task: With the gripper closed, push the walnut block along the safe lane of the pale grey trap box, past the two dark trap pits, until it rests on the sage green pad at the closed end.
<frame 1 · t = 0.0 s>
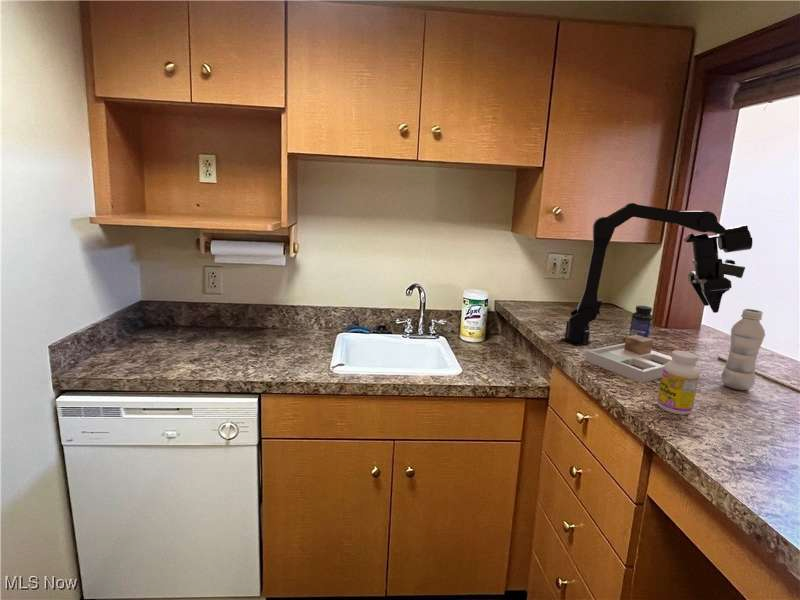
hand: (710, 308, 128), 15 cm above the worktop, tool pointing down, fingers open, 9 cm apart
trap box: (636, 365, 124), on the worktop
plastic bottle: (735, 388, 111), on the worktop
supplement bottle: (673, 409, 98), on the worktop
walnut block: (637, 351, 130), point 2 cm above the worktop, touching trap box
pill bottle: (638, 339, 149), on the worktop
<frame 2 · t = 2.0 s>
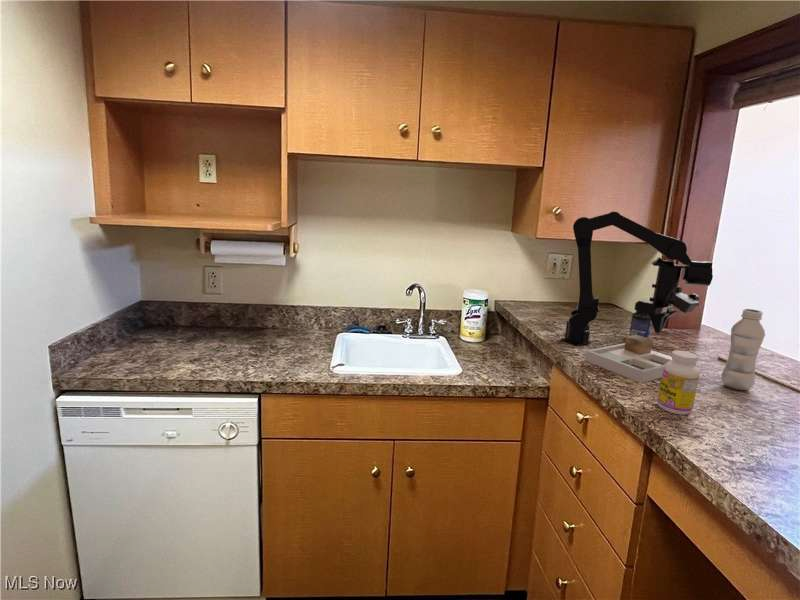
hand: (657, 332, 133), 7 cm above the worktop, tool pointing down, fingers closed
nothing on the worktop moved.
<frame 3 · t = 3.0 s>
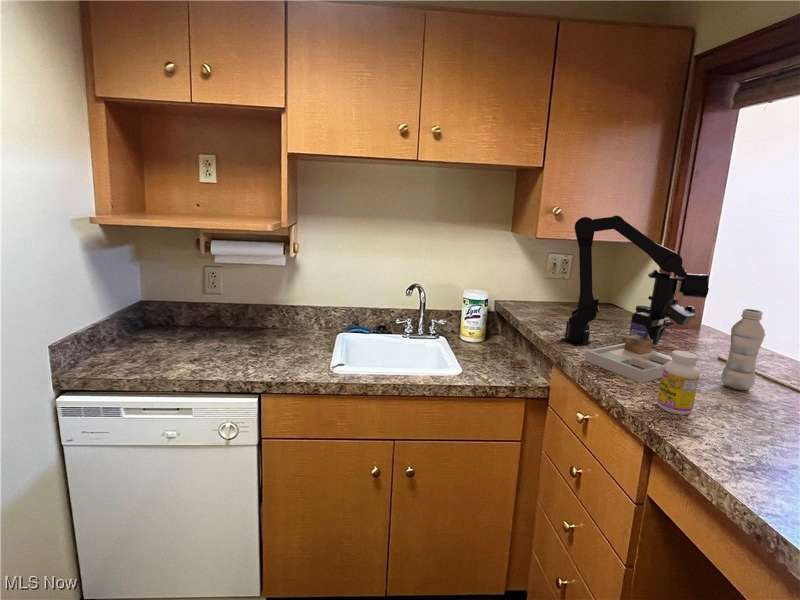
hand: (654, 344, 134), 3 cm above the worktop, tool pointing down, fingers closed
nothing on the worktop moved.
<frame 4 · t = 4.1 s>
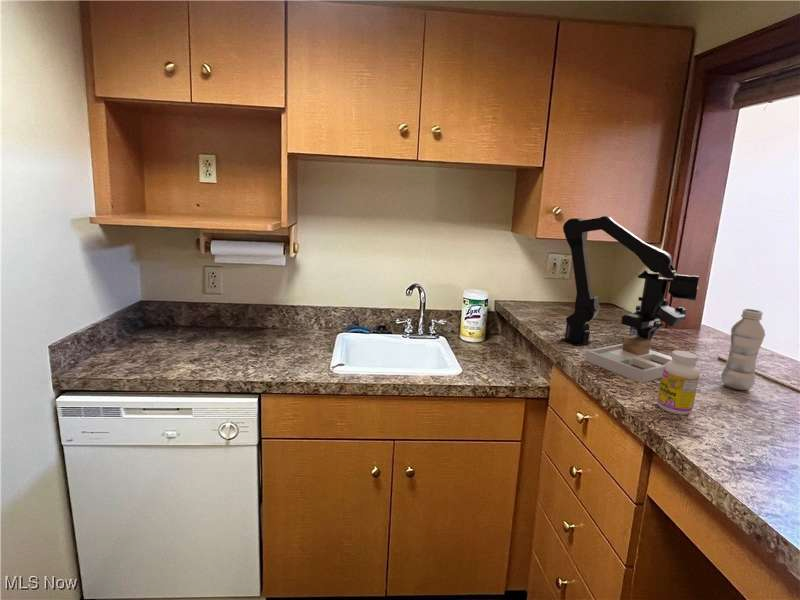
hand: (644, 346, 131), 3 cm above the worktop, tool pointing down, fingers closed
walnut block: (635, 351, 129), point 2 cm above the worktop, touching gripper
everything else where it was.
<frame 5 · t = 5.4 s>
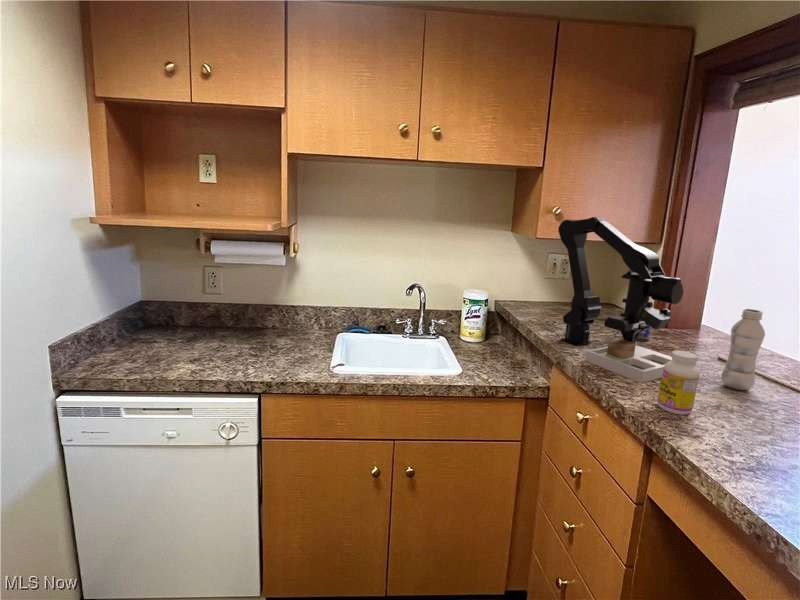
hand: (629, 349, 128), 3 cm above the worktop, tool pointing down, fingers closed
walnut block: (620, 355, 126), point 2 cm above the worktop, touching gripper, trap box
everything else where it was.
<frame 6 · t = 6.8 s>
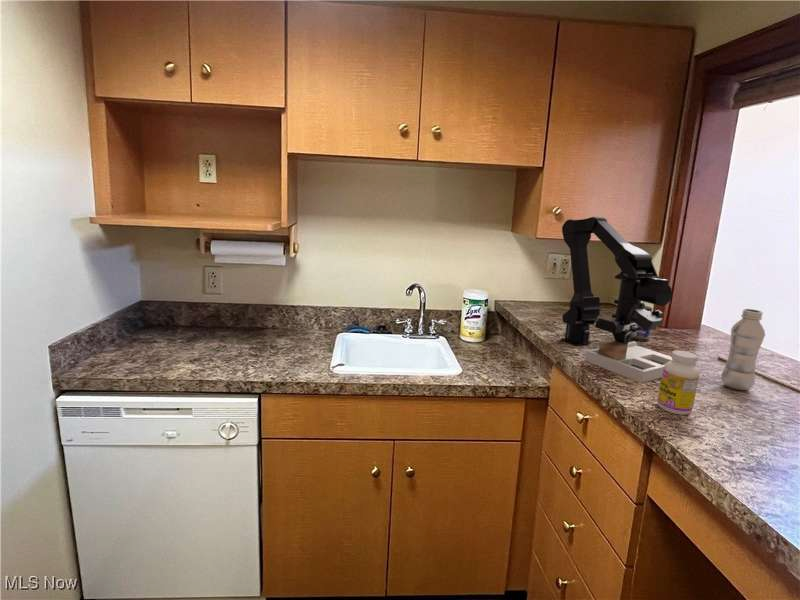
hand: (621, 351, 126), 3 cm above the worktop, tool pointing down, fingers closed
walnut block: (611, 357, 124), point 2 cm above the worktop, touching gripper, trap box
everything else where it was.
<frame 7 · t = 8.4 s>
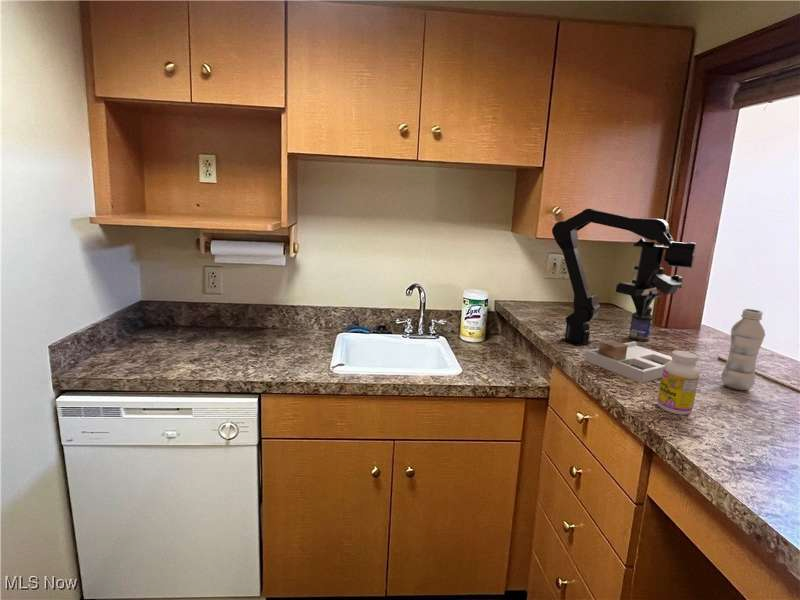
hand: (640, 316, 130), 12 cm above the worktop, tool pointing down, fingers closed
walnut block: (611, 357, 124), point 2 cm above the worktop, touching trap box
everything else where it was.
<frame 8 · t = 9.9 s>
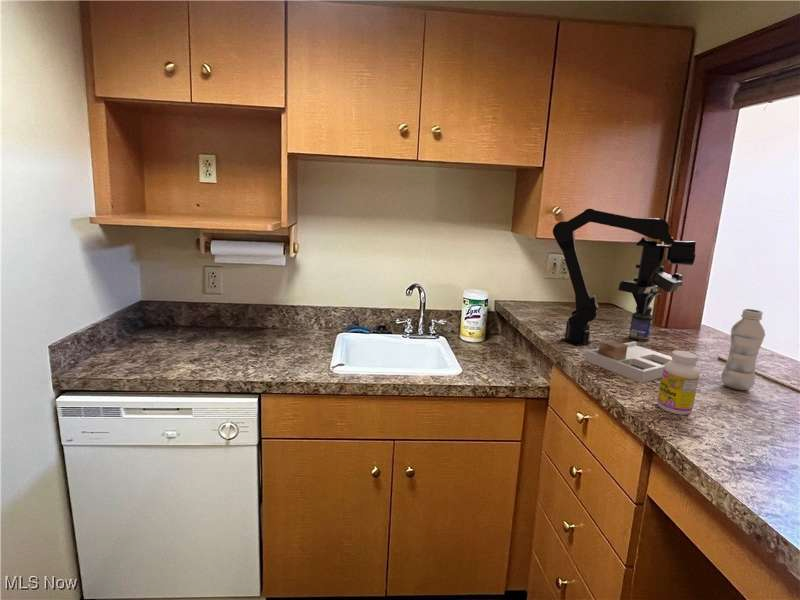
hand: (641, 313, 133), 12 cm above the worktop, tool pointing down, fingers closed
nothing on the worktop moved.
at the end: walnut block inside the target area on the trap box (0.7 cm from its centre), point 2.0 cm above the trap box's base; walnut block tilted 0° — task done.
